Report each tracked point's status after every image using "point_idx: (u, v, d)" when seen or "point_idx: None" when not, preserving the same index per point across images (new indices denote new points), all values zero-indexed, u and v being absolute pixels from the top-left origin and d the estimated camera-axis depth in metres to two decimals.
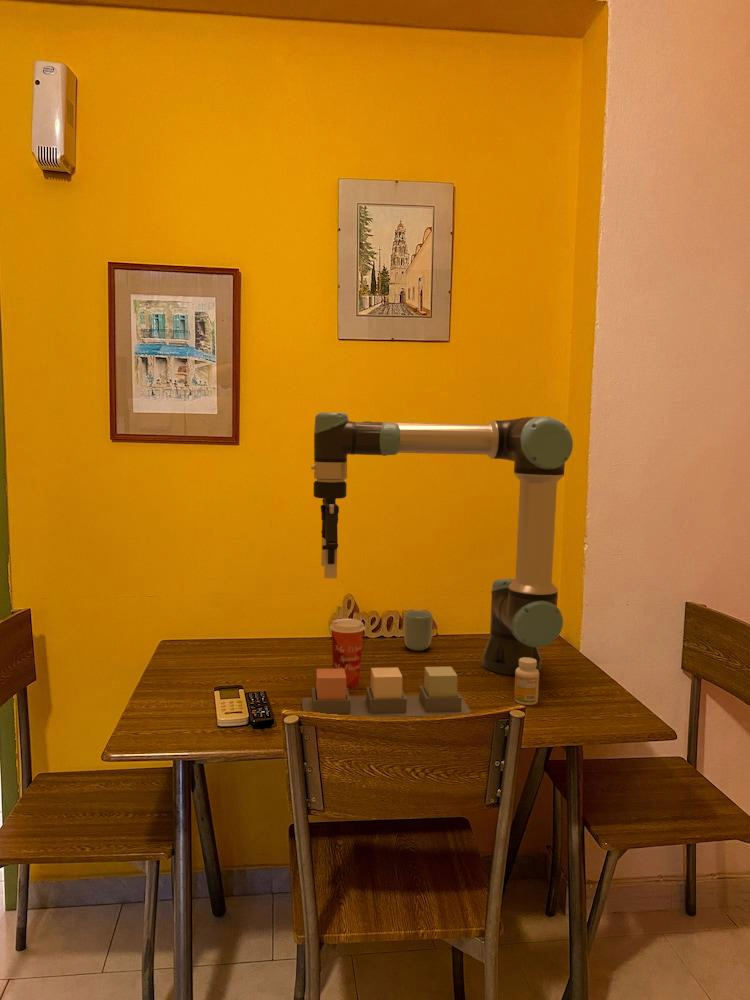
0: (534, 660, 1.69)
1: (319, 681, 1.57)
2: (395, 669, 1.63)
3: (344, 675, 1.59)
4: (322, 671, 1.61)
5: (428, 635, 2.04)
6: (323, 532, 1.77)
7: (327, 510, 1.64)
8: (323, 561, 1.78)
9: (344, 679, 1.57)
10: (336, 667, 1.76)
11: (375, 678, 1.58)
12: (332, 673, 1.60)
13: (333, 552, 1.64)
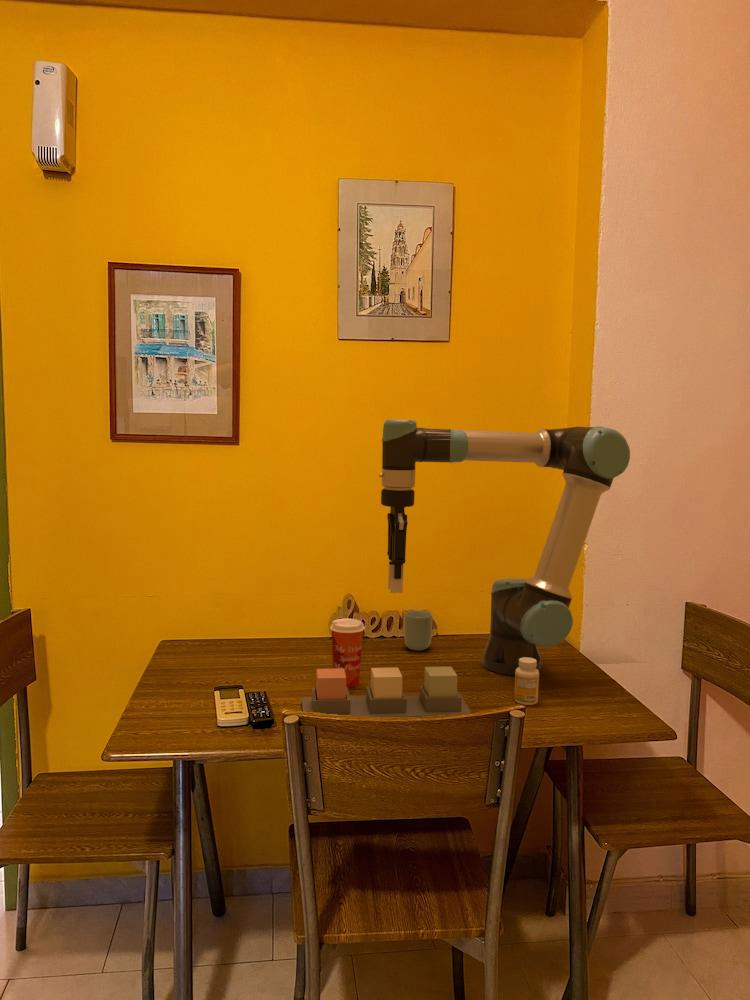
0: (534, 660, 1.69)
1: (319, 681, 1.57)
2: (395, 669, 1.63)
3: (344, 675, 1.59)
4: (322, 671, 1.61)
5: (428, 635, 2.04)
6: (390, 550, 1.71)
7: (397, 527, 1.62)
8: (390, 584, 1.71)
9: (344, 679, 1.57)
10: (336, 667, 1.76)
11: (375, 678, 1.58)
12: (332, 673, 1.60)
13: (400, 567, 1.66)
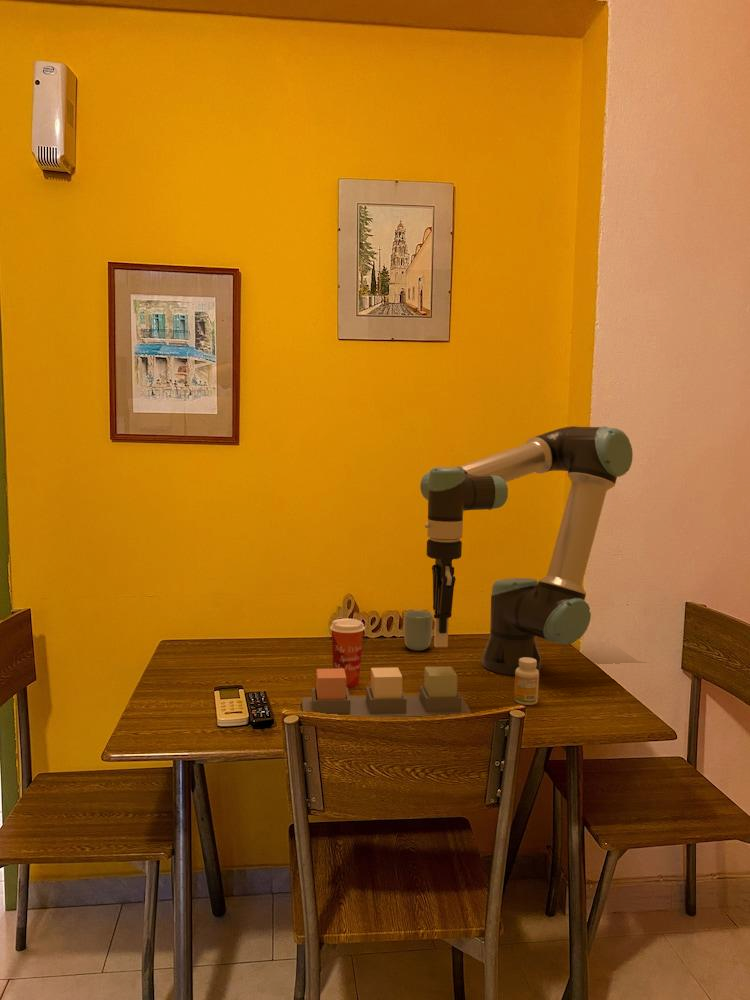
0: (534, 660, 1.69)
1: (319, 681, 1.57)
2: (395, 669, 1.63)
3: (344, 675, 1.59)
4: (322, 671, 1.61)
5: (428, 635, 2.04)
6: (436, 604, 1.62)
7: (444, 583, 1.55)
8: None
9: (344, 679, 1.57)
10: (336, 667, 1.76)
11: (375, 678, 1.58)
12: (332, 673, 1.60)
13: (445, 621, 1.60)
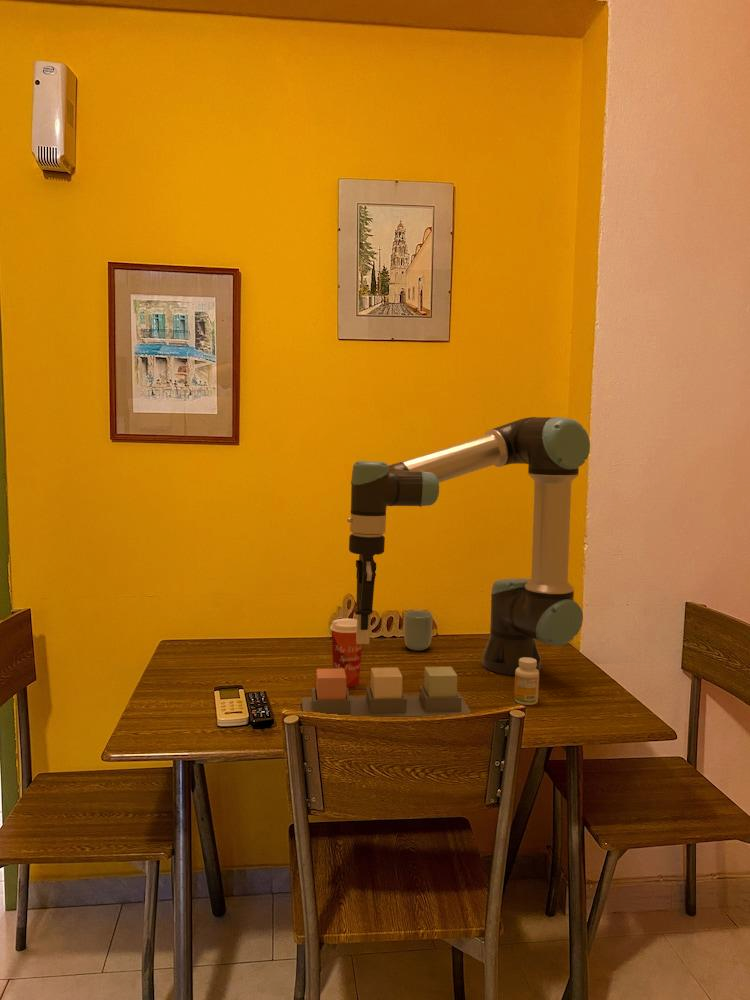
0: (534, 660, 1.69)
1: (319, 681, 1.57)
2: (395, 669, 1.63)
3: (344, 675, 1.59)
4: (322, 671, 1.61)
5: (428, 635, 2.04)
6: (359, 600, 1.59)
7: (364, 579, 1.52)
8: None
9: (344, 679, 1.57)
10: (336, 667, 1.76)
11: (375, 678, 1.58)
12: (332, 673, 1.60)
13: (367, 617, 1.57)
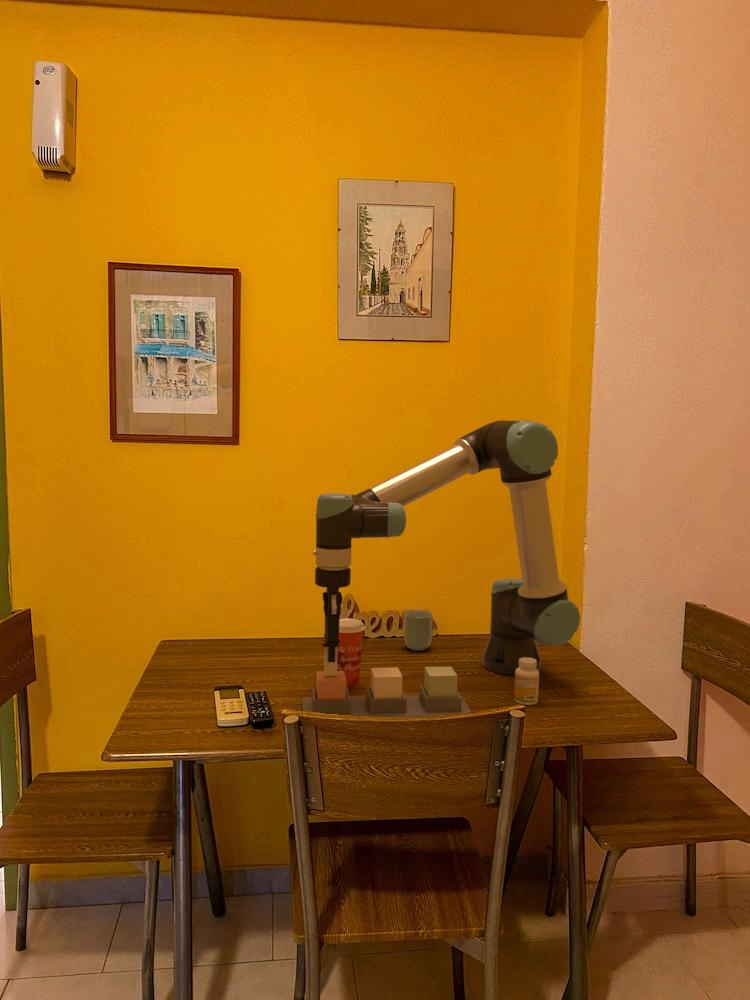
0: (534, 660, 1.69)
1: (319, 684, 1.57)
2: (395, 669, 1.63)
3: (344, 678, 1.59)
4: (322, 674, 1.61)
5: (428, 635, 2.04)
6: (326, 632, 1.60)
7: (329, 613, 1.53)
8: None
9: (344, 682, 1.57)
10: None
11: (375, 678, 1.58)
12: (332, 676, 1.60)
13: (334, 650, 1.57)
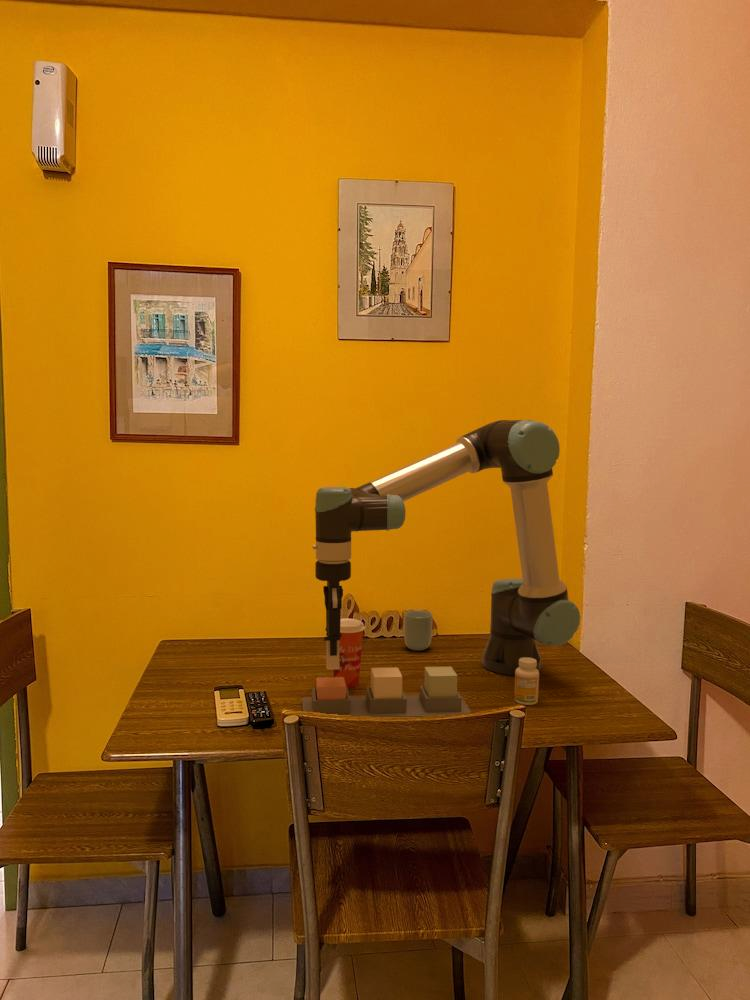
0: (534, 660, 1.69)
1: (319, 690, 1.57)
2: (395, 669, 1.63)
3: (344, 684, 1.59)
4: (322, 680, 1.61)
5: (428, 635, 2.04)
6: (328, 626, 1.60)
7: (330, 606, 1.52)
8: None
9: (344, 688, 1.58)
10: None
11: (375, 678, 1.58)
12: (332, 682, 1.60)
13: (335, 643, 1.57)
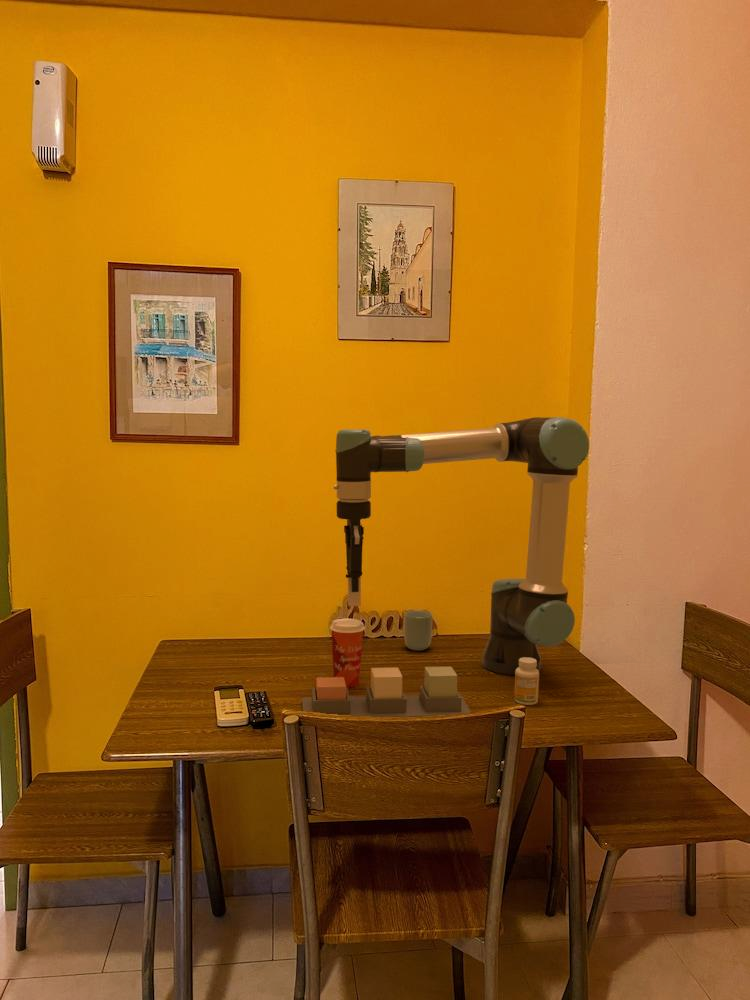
0: (534, 660, 1.69)
1: (319, 690, 1.57)
2: (395, 669, 1.63)
3: (344, 684, 1.59)
4: (322, 680, 1.61)
5: (428, 635, 2.04)
6: (349, 564, 1.65)
7: (352, 542, 1.58)
8: None
9: (344, 688, 1.58)
10: (336, 667, 1.76)
11: (375, 678, 1.58)
12: (332, 682, 1.60)
13: (357, 580, 1.63)
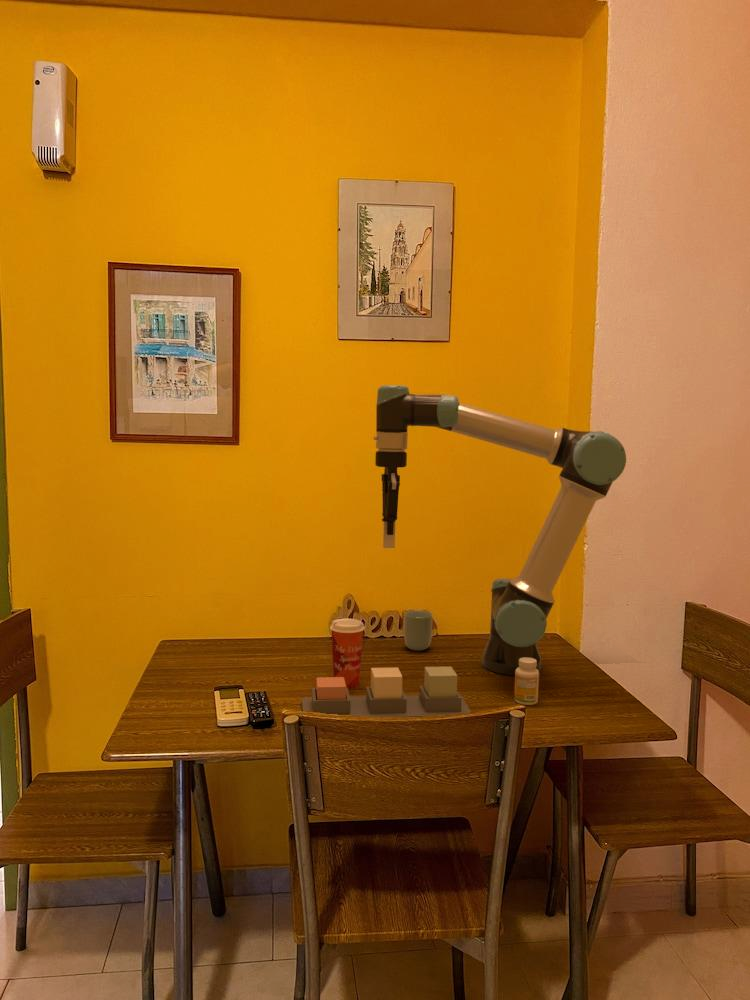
0: (534, 660, 1.69)
1: (319, 690, 1.57)
2: (395, 669, 1.63)
3: (344, 684, 1.59)
4: (322, 680, 1.61)
5: (428, 635, 2.04)
6: (385, 510, 1.81)
7: (390, 487, 1.74)
8: None
9: (344, 688, 1.58)
10: (336, 667, 1.76)
11: (375, 678, 1.58)
12: (332, 682, 1.60)
13: (392, 524, 1.79)
